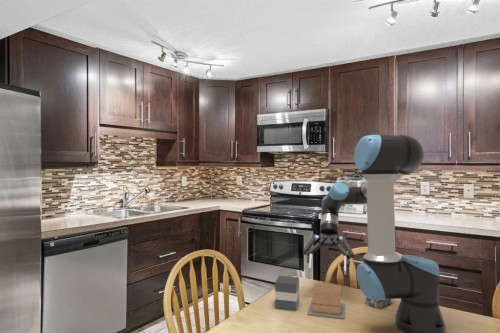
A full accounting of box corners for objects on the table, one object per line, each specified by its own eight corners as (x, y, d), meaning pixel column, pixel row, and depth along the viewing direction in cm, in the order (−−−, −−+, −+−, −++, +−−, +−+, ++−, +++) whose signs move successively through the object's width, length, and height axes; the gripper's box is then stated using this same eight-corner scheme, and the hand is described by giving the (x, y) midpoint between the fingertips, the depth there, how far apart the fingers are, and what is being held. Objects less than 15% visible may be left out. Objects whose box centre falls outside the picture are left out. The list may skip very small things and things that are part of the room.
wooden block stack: (340, 304, 135) (340, 285, 135) (340, 315, 126) (340, 294, 126) (314, 301, 138) (314, 282, 138) (312, 312, 128) (312, 292, 128)
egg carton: (379, 310, 132) (379, 299, 132) (362, 304, 138) (362, 293, 138) (394, 303, 138) (394, 293, 138) (377, 297, 144) (378, 287, 144)
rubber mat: (345, 304, 136) (345, 303, 136) (344, 319, 124) (344, 318, 124) (311, 301, 140) (311, 300, 140) (307, 315, 127) (307, 313, 127)
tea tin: (299, 302, 139) (299, 277, 139) (296, 310, 131) (296, 284, 131) (279, 300, 141) (279, 275, 141) (274, 308, 133) (274, 282, 133)
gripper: (359, 232, 152) (360, 278, 138) (301, 230, 159) (296, 273, 145) (359, 222, 147) (360, 268, 133) (299, 220, 154) (294, 263, 139)
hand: (327, 271), depth 139 cm, fingers open, 13 cm apart
